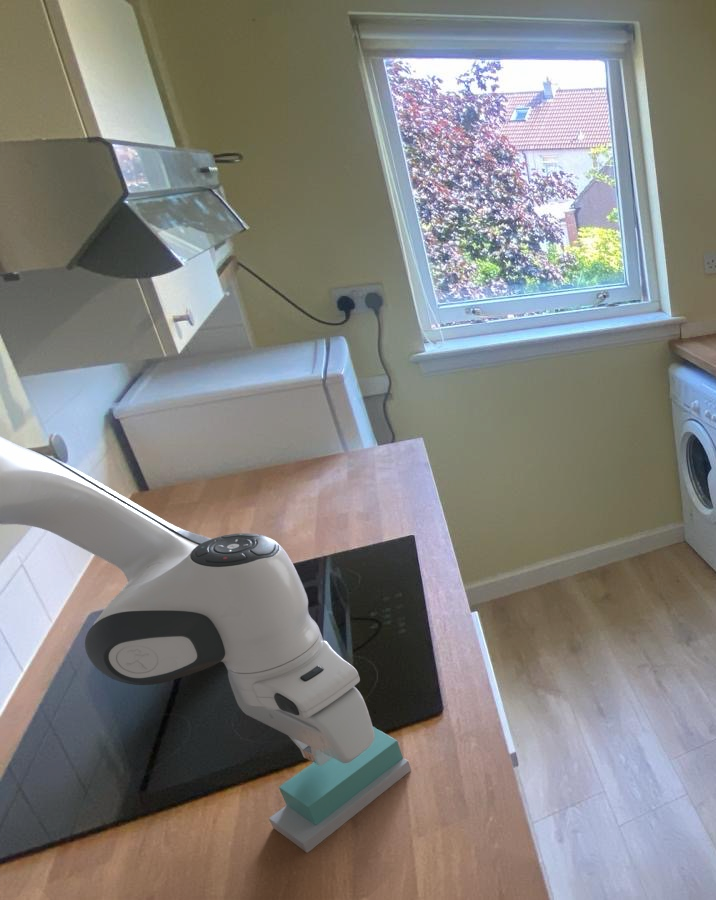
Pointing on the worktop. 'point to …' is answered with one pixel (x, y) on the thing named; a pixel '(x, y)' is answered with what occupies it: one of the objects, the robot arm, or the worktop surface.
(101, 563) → the worktop surface
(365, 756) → the whetstone
